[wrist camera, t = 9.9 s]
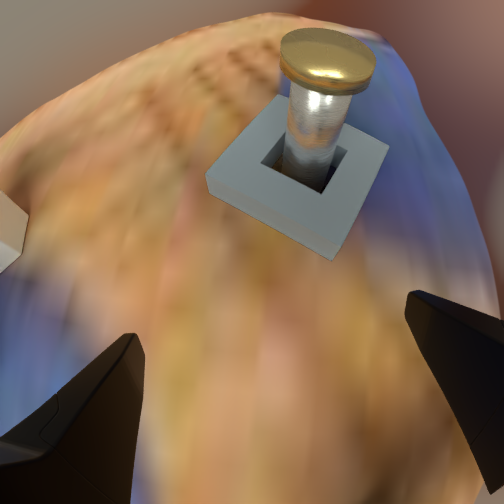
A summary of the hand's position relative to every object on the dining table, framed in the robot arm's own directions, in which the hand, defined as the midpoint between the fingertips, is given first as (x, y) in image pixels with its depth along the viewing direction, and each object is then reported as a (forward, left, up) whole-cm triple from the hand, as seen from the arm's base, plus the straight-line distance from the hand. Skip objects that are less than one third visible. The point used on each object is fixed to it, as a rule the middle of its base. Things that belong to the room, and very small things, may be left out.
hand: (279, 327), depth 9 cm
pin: (+5, -15, -14) cm, 21 cm away
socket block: (+5, -15, -14) cm, 21 cm away
